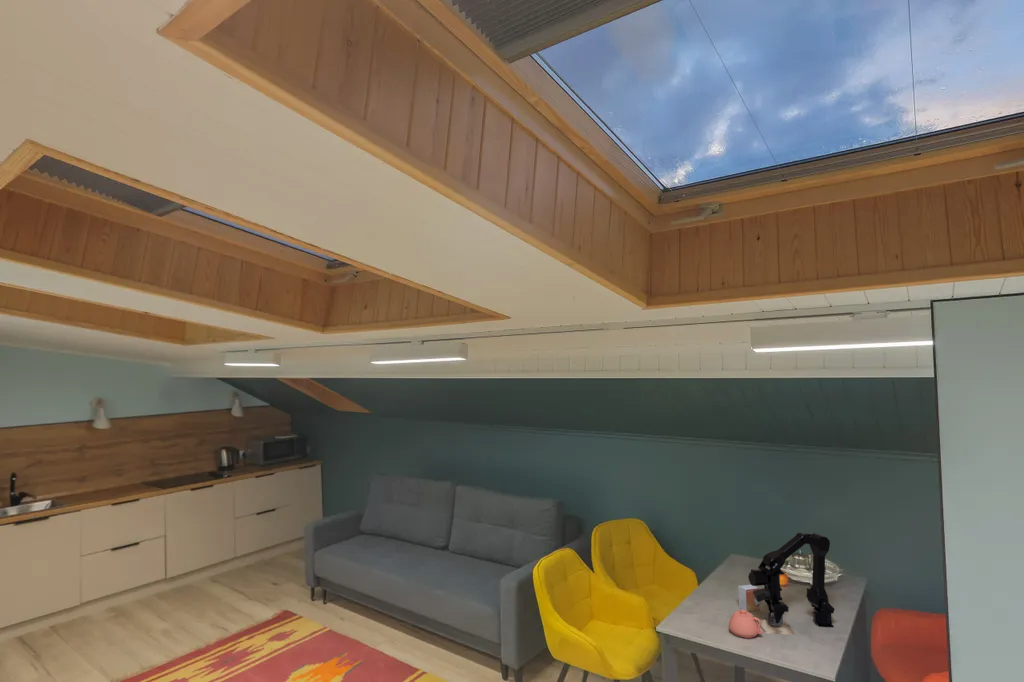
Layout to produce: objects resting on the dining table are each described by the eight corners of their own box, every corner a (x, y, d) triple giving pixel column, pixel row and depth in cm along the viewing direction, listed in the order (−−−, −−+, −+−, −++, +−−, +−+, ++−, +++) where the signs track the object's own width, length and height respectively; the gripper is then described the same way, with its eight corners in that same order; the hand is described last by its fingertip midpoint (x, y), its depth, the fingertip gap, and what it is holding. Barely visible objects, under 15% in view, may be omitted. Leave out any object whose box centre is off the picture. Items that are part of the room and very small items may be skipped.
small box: (746, 612, 264) (745, 589, 265) (738, 607, 270) (737, 585, 271) (760, 610, 267) (759, 587, 267) (752, 605, 272) (751, 583, 273)
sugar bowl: (734, 625, 251) (733, 602, 252) (766, 634, 242) (765, 610, 243) (725, 635, 242) (724, 611, 242) (758, 644, 233) (757, 619, 233)
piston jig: (783, 622, 253) (783, 608, 254) (794, 634, 241) (793, 620, 242) (756, 621, 254) (756, 608, 255) (765, 633, 243) (764, 619, 243)
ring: (779, 619, 251) (779, 612, 251) (784, 625, 244) (784, 618, 245) (764, 618, 252) (764, 612, 252) (769, 625, 245) (769, 618, 245)
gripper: (748, 576, 259) (749, 610, 258) (761, 591, 241) (762, 628, 240) (772, 576, 258) (774, 611, 257) (788, 592, 240) (789, 629, 238)
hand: (774, 619), depth 248 cm, fingers closed on ring, 6 cm apart
